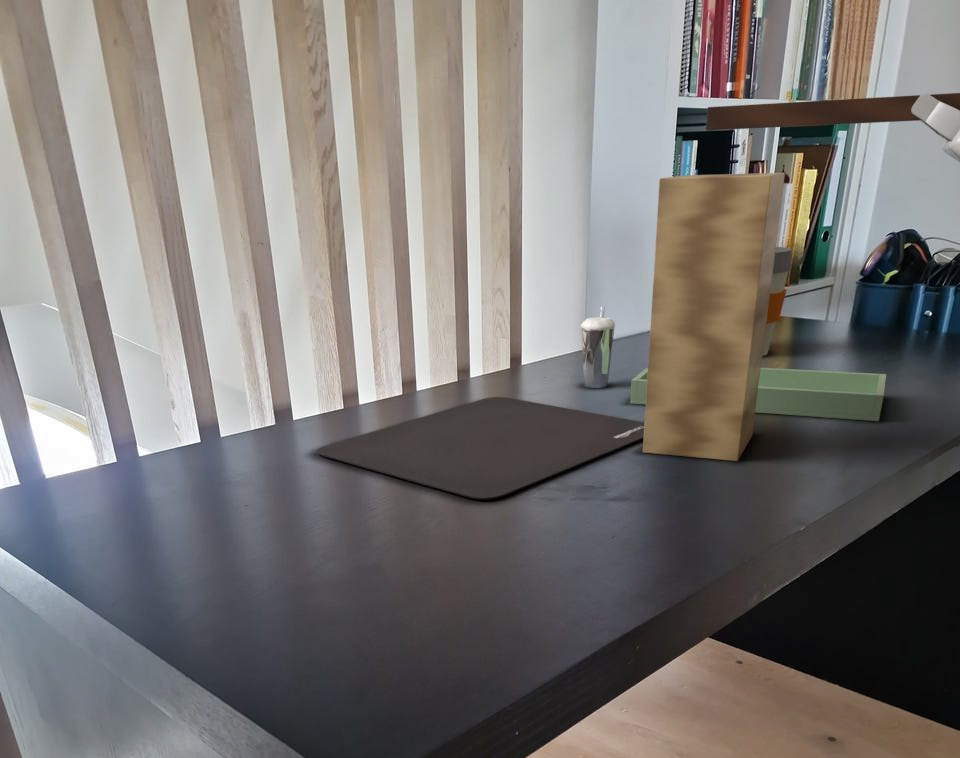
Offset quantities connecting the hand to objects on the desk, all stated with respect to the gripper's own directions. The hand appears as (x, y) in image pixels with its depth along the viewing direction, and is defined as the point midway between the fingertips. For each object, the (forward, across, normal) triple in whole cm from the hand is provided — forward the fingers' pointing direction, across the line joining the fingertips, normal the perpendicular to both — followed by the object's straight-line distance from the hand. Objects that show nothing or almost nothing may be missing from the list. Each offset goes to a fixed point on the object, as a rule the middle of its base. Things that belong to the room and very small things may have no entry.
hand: (915, 102), depth 81 cm
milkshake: (+14, -15, +44) cm, 49 cm away
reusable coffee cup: (+1, -43, +37) cm, 56 cm away
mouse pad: (+17, +15, +46) cm, 52 cm away
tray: (-5, -12, +33) cm, 36 cm away
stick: (+6, 0, +5) cm, 7 cm away
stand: (-2, +9, +35) cm, 36 cm away
